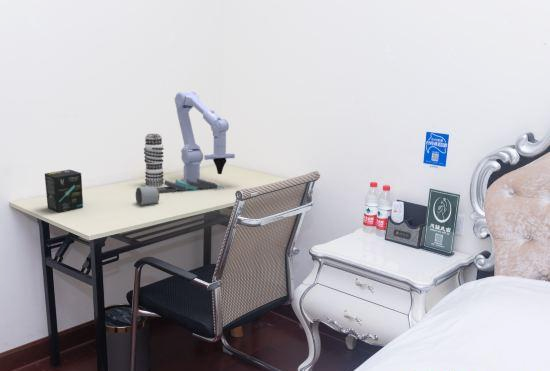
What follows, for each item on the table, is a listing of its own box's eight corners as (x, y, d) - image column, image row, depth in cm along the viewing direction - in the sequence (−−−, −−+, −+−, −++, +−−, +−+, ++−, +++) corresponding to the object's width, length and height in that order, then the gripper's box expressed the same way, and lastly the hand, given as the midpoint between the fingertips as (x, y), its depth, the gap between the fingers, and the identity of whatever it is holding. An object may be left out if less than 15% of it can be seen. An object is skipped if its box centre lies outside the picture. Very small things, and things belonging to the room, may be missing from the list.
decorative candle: (166, 184, 255) (166, 133, 249) (161, 189, 246) (159, 136, 240) (148, 183, 255) (147, 132, 249) (142, 187, 246) (140, 135, 240)
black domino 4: (216, 188, 248) (199, 184, 244) (213, 186, 252) (196, 181, 248) (217, 185, 248) (200, 180, 244) (214, 183, 252) (197, 178, 248)
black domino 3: (206, 189, 246) (189, 184, 242) (203, 186, 250) (186, 182, 246) (207, 186, 246) (190, 181, 241) (204, 183, 250) (187, 179, 246)
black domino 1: (176, 191, 240) (156, 194, 236) (173, 189, 244) (153, 191, 240) (175, 188, 239) (156, 190, 235) (172, 186, 243) (153, 188, 240)
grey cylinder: (160, 204, 220) (160, 187, 219) (142, 207, 215) (141, 189, 214) (150, 199, 228) (149, 182, 227) (132, 202, 224) (131, 184, 222)
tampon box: (71, 203, 218) (69, 168, 215) (84, 207, 213) (82, 172, 209) (46, 208, 210) (43, 172, 207) (58, 213, 204) (55, 176, 201)
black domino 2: (184, 191, 241) (166, 185, 237) (181, 188, 246) (164, 183, 241) (186, 188, 241) (168, 182, 237) (183, 185, 246) (165, 180, 241)
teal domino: (196, 190, 244) (177, 185, 239) (192, 187, 248) (175, 183, 244) (197, 187, 243) (179, 182, 239) (194, 184, 248) (176, 179, 244)
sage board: (167, 189, 244) (167, 189, 244) (220, 185, 256) (220, 184, 256) (172, 194, 237) (172, 193, 237) (226, 189, 249) (226, 188, 249)
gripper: (207, 147, 240) (207, 176, 243) (237, 146, 246) (236, 174, 249) (202, 145, 246) (203, 173, 249) (231, 143, 252) (231, 171, 255)
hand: (219, 173), depth 250 cm, fingers closed
